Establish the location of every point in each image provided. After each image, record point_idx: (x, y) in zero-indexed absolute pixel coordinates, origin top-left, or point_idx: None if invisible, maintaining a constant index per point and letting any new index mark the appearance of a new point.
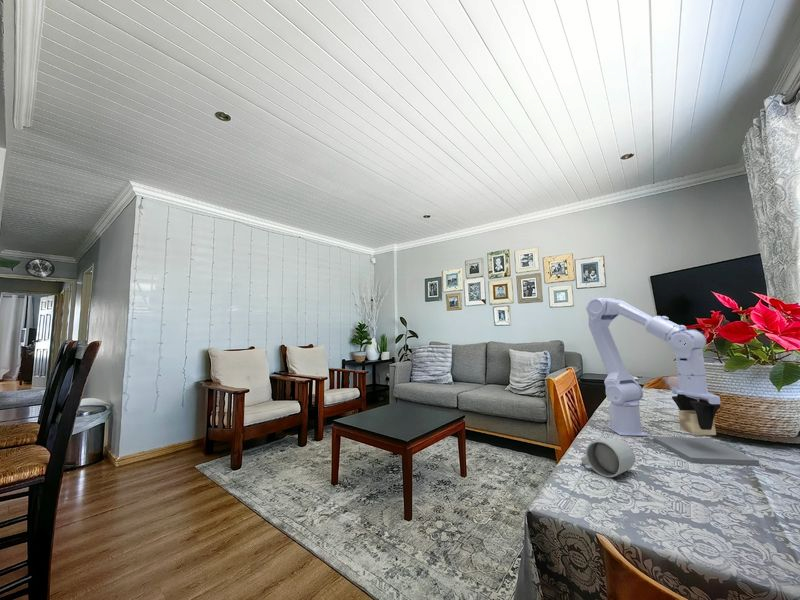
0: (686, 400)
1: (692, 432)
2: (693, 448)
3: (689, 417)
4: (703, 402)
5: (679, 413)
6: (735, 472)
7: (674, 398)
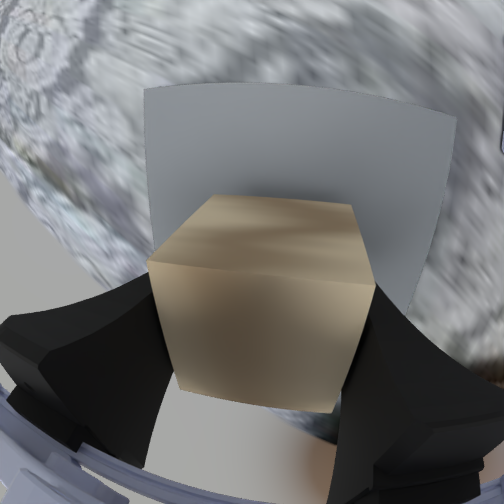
0: (358, 457)
1: (225, 197)
2: (269, 179)
3: (198, 245)
4: (32, 396)
5: (359, 265)
6: (101, 181)
7: (463, 411)
